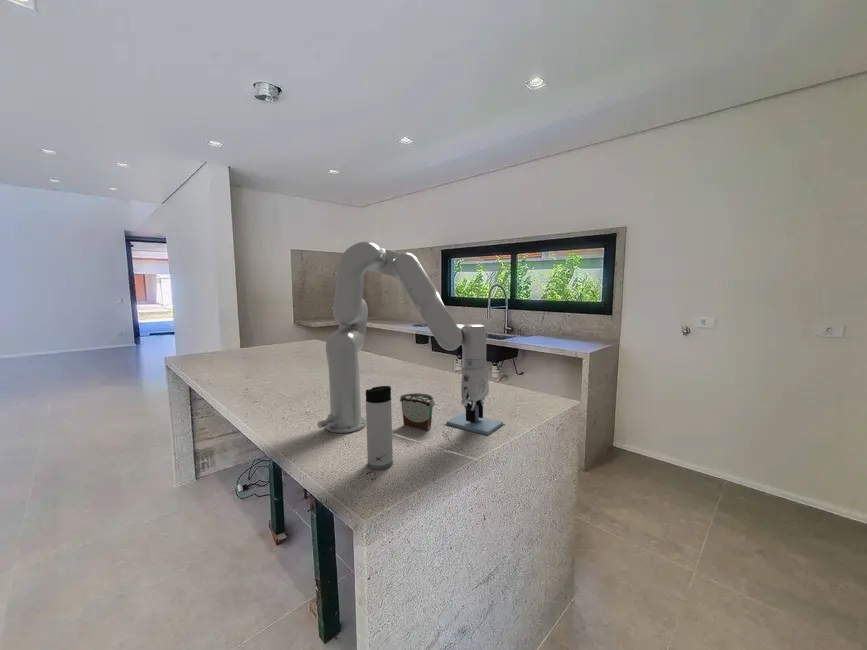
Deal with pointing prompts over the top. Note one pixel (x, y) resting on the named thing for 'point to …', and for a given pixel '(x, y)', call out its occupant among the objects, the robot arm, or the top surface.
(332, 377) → the robot arm
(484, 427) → the lid
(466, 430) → the mat
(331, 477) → the top surface
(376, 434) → the travel mug
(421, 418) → the food container
